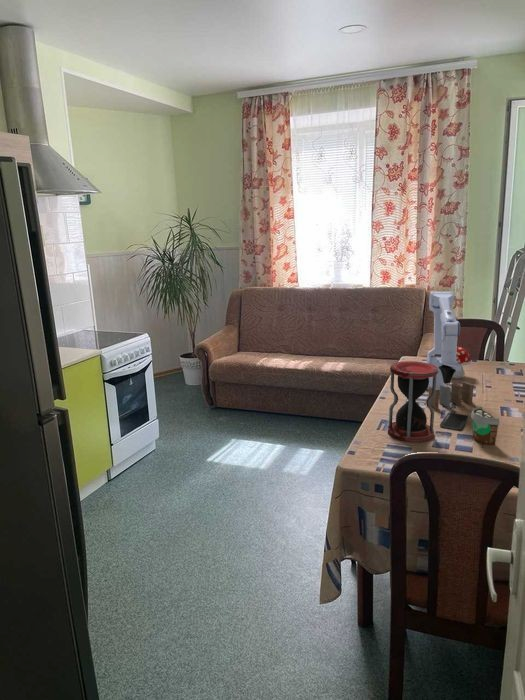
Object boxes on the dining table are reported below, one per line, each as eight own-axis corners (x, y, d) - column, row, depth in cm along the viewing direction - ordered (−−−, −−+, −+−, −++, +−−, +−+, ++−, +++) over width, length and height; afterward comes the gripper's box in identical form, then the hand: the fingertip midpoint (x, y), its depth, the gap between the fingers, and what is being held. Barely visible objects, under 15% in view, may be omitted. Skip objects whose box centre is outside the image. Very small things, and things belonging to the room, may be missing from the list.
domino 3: (457, 405, 212) (459, 386, 210) (450, 401, 217) (451, 383, 215) (461, 404, 213) (462, 386, 211) (453, 401, 217) (454, 383, 215)
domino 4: (468, 403, 214) (470, 385, 212) (461, 399, 218) (462, 382, 216) (472, 403, 214) (473, 384, 212) (464, 399, 219) (465, 381, 217)
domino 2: (446, 406, 211) (447, 388, 209) (439, 403, 215) (440, 385, 213) (449, 406, 211) (451, 387, 209) (442, 402, 216) (443, 384, 214)
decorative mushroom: (439, 379, 246) (441, 349, 242) (441, 371, 259) (443, 342, 255) (470, 382, 241) (473, 351, 237) (471, 374, 253) (473, 344, 250)
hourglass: (390, 422, 196) (393, 359, 190) (435, 427, 190) (439, 362, 184) (384, 438, 182) (387, 371, 175) (432, 445, 176) (436, 375, 170)
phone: (439, 425, 190) (448, 412, 203) (439, 428, 191) (448, 414, 203) (461, 429, 186) (469, 415, 199) (461, 432, 187) (469, 418, 199)
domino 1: (434, 408, 209) (436, 389, 207) (427, 404, 213) (429, 386, 212) (438, 408, 209) (439, 389, 208) (431, 404, 214) (432, 386, 212)
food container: (462, 433, 185) (464, 407, 182) (479, 432, 185) (481, 406, 183) (479, 447, 173) (482, 420, 170) (497, 446, 173) (499, 419, 171)
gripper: (469, 354, 202) (466, 387, 205) (446, 346, 215) (444, 377, 218) (453, 356, 200) (451, 389, 203) (432, 347, 213) (430, 378, 217)
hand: (446, 383), depth 211 cm, fingers closed
